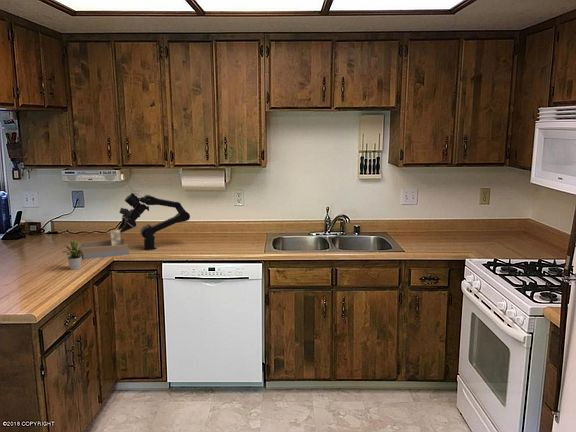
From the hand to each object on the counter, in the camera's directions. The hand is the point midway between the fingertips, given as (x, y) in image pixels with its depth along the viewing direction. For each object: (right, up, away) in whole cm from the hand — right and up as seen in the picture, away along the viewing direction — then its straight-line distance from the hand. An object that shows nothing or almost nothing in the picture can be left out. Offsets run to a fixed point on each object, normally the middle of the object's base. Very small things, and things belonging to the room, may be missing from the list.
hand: (119, 230), depth 298 cm
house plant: (-13, -19, -34) cm, 41 cm away
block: (-2, -10, 0) cm, 10 cm away
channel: (-8, -14, -2) cm, 16 cm away
